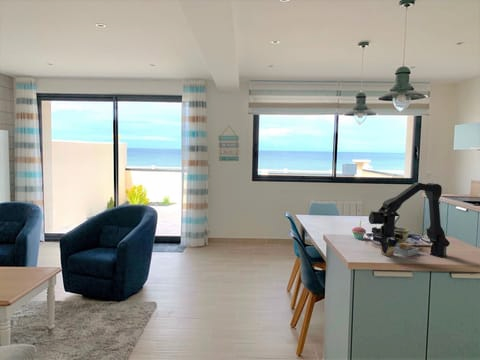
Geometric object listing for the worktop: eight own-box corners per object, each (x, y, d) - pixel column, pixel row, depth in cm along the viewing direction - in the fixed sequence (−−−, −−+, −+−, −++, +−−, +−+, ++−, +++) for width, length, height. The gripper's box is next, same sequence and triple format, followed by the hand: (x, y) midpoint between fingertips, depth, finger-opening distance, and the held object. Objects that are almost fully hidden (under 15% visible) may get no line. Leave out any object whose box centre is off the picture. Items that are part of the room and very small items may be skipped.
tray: (418, 253, 184) (419, 248, 184) (407, 256, 178) (407, 251, 178) (392, 246, 198) (392, 241, 197) (380, 249, 192) (381, 243, 192)
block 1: (393, 255, 179) (393, 246, 179) (388, 256, 177) (388, 248, 177) (385, 252, 183) (386, 244, 183) (380, 254, 181) (381, 245, 181)
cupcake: (354, 235, 222) (355, 218, 222) (367, 238, 217) (368, 220, 216) (349, 238, 216) (350, 219, 215) (362, 240, 210) (364, 221, 210)
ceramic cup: (411, 248, 196) (412, 231, 195) (393, 247, 196) (395, 230, 195) (400, 242, 209) (401, 226, 208) (384, 241, 209) (385, 226, 208)
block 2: (411, 252, 184) (412, 244, 184) (406, 253, 182) (407, 245, 182) (403, 250, 188) (404, 242, 188) (399, 251, 186) (399, 243, 185)
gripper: (385, 220, 191) (384, 246, 192) (365, 222, 181) (363, 251, 182) (404, 223, 181) (402, 251, 183) (383, 227, 171) (381, 256, 172)
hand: (387, 252), depth 180 cm, fingers closed on block 1, 4 cm apart
